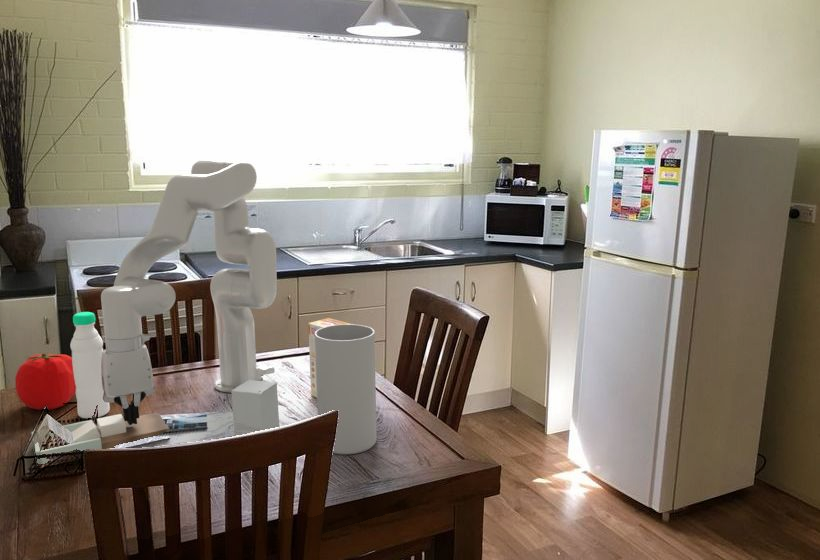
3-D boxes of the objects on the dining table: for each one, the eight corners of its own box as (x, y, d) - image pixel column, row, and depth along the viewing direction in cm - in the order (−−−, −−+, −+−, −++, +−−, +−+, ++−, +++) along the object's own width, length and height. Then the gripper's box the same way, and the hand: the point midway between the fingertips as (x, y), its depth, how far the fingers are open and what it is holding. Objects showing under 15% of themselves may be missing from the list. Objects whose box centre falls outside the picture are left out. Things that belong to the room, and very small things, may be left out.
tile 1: (97, 428, 154) (91, 419, 153) (101, 436, 150) (94, 427, 149) (76, 441, 152) (69, 433, 151) (79, 450, 148) (72, 441, 147)
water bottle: (98, 420, 165) (87, 318, 159) (71, 418, 166) (59, 316, 161) (116, 409, 171) (106, 310, 166) (90, 407, 173) (80, 309, 168)
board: (158, 421, 164) (157, 412, 163) (170, 438, 155) (169, 428, 154) (93, 435, 156) (92, 425, 156) (102, 454, 147) (101, 443, 147)
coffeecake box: (370, 402, 174) (368, 327, 170) (349, 411, 169) (347, 333, 165) (331, 388, 184) (328, 317, 180) (309, 395, 179) (307, 322, 175)
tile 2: (122, 424, 156) (121, 413, 156) (126, 432, 152) (125, 421, 152) (97, 429, 154) (96, 418, 153) (101, 437, 150) (100, 426, 149)
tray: (93, 434, 157) (92, 419, 156) (102, 454, 147) (100, 438, 146) (33, 447, 151) (31, 431, 150) (38, 469, 141) (36, 452, 140)
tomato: (37, 421, 164) (30, 366, 162) (5, 409, 172) (-2, 356, 169) (97, 400, 177) (91, 348, 175) (65, 390, 185) (59, 340, 182)
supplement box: (281, 435, 156) (278, 382, 153) (263, 449, 149) (260, 393, 146) (252, 431, 158) (249, 378, 155) (233, 445, 151) (230, 389, 148)
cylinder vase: (341, 426, 160) (338, 321, 155) (387, 438, 154) (385, 329, 149) (307, 447, 149) (302, 335, 144) (355, 461, 143) (352, 344, 138)
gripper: (156, 333, 158) (162, 410, 162) (84, 344, 150) (92, 424, 154) (164, 341, 152) (170, 420, 156) (89, 353, 144) (98, 436, 148)
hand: (131, 422), depth 155 cm, fingers closed
